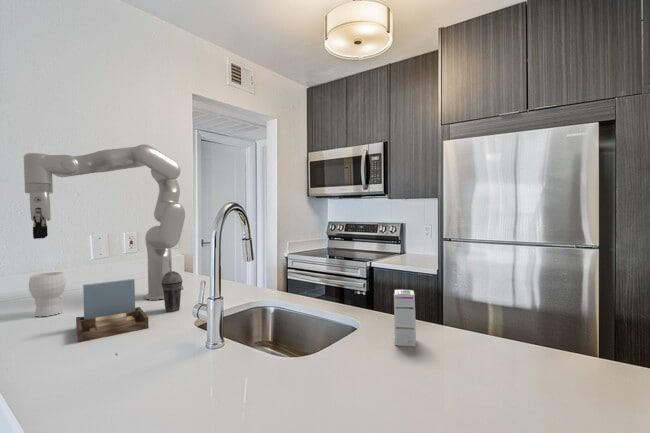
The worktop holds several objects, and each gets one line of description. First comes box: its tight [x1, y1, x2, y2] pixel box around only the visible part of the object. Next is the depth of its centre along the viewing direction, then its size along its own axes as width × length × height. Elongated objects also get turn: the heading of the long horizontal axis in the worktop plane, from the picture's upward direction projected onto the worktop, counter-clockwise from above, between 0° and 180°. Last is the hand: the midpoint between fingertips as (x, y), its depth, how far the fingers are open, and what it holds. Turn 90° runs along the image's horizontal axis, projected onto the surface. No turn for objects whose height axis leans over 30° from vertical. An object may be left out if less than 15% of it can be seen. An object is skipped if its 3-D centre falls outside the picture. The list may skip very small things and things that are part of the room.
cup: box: [28, 271, 66, 317], centre depth 126 cm, size 11×11×15 cm
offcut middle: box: [95, 316, 135, 331], centre depth 105 cm, size 10×4×2 cm, turn 131°
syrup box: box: [393, 289, 417, 348], centre depth 95 cm, size 6×6×14 cm
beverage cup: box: [161, 260, 183, 313], centre depth 125 cm, size 7×7×20 cm
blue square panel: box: [82, 278, 136, 320], centre depth 110 cm, size 14×2×14 cm, turn 128°
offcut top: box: [96, 313, 127, 326], centre depth 104 cm, size 8×4×2 cm, turn 124°
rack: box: [75, 306, 150, 343], centre depth 107 cm, size 18×15×4 cm
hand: (40, 237), depth 119 cm, fingers open, 9 cm apart
